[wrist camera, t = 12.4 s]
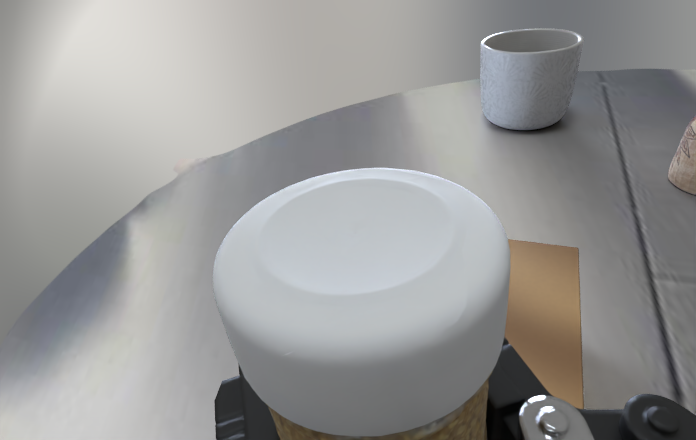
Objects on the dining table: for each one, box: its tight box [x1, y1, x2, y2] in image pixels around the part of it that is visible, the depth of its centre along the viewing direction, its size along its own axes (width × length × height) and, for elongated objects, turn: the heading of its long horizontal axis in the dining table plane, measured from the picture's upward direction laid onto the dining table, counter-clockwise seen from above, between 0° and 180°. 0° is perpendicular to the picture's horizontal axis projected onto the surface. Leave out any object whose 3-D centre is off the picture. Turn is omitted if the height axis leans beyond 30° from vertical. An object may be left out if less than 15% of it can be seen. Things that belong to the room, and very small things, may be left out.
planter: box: [481, 28, 584, 130], centre depth 61 cm, size 12×12×11 cm
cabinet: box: [504, 239, 584, 409], centre depth 27 cm, size 15×13×8 cm
